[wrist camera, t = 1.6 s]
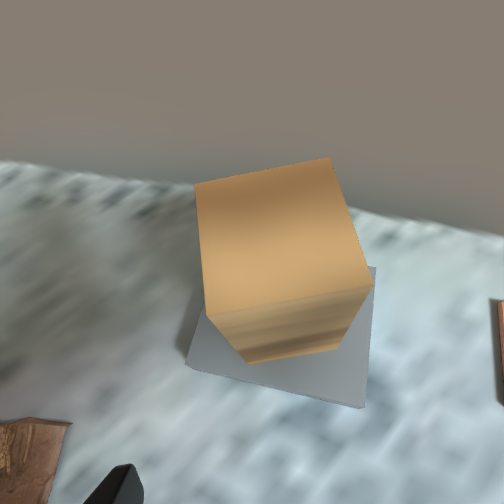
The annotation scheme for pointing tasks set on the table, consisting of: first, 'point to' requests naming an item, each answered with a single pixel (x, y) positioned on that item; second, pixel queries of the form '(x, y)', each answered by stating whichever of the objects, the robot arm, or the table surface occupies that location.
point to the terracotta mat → (501, 329)
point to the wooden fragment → (29, 460)
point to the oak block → (280, 260)
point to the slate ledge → (295, 361)
